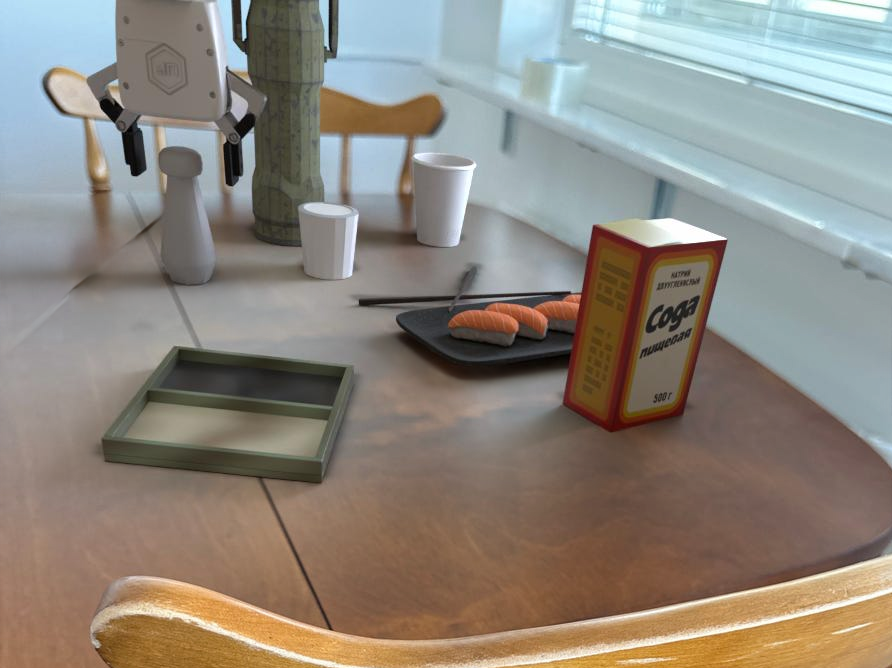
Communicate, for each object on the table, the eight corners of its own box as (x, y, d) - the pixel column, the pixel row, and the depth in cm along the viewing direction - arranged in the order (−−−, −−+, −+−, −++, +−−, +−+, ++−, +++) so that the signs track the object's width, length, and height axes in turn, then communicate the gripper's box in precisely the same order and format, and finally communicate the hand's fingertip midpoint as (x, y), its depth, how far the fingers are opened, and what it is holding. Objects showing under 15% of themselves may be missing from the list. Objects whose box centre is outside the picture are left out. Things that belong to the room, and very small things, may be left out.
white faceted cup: (368, 272, 111) (370, 209, 106) (337, 285, 106) (338, 220, 101) (319, 259, 113) (319, 197, 108) (286, 272, 107) (285, 207, 103)
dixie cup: (394, 235, 125) (398, 153, 118) (441, 230, 129) (447, 150, 123) (434, 252, 120) (440, 168, 114) (481, 246, 125) (489, 165, 119)
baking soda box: (634, 387, 91) (672, 213, 81) (683, 414, 87) (729, 234, 77) (562, 403, 86) (593, 220, 76) (610, 432, 82) (649, 242, 72)
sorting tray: (104, 461, 68) (100, 438, 67) (175, 365, 83) (173, 345, 82) (321, 483, 69) (321, 461, 68) (353, 384, 84) (354, 365, 83)
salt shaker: (168, 268, 104) (156, 139, 96) (221, 273, 105) (212, 145, 97) (158, 285, 99) (144, 151, 91) (212, 289, 100) (203, 156, 92)
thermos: (234, 226, 120) (217, -121, 99) (323, 226, 124) (324, -106, 103) (250, 246, 114) (234, -119, 92) (343, 246, 118) (348, -103, 97)
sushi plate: (458, 385, 86) (462, 345, 84) (317, 284, 105) (317, 249, 103) (682, 349, 101) (691, 314, 98) (523, 266, 119) (527, 235, 117)
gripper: (56, -32, 82) (89, 178, 93) (252, -10, 83) (262, 196, 94) (86, -36, 88) (113, 162, 99) (268, -15, 89) (276, 179, 99)
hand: (186, 178), depth 96 cm, fingers open, 9 cm apart
